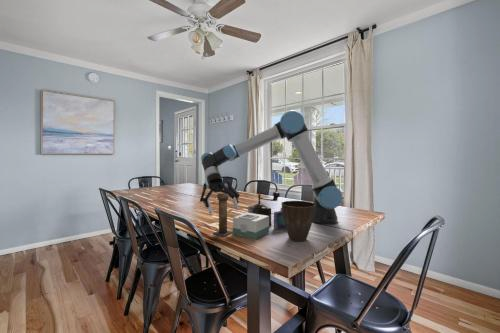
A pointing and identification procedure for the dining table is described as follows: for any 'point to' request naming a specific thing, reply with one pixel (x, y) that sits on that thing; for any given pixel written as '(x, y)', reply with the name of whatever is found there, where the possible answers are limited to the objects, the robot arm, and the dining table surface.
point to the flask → (279, 220)
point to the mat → (223, 233)
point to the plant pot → (298, 218)
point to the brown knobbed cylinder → (222, 212)
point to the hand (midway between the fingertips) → (224, 211)
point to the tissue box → (251, 225)
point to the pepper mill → (263, 207)
